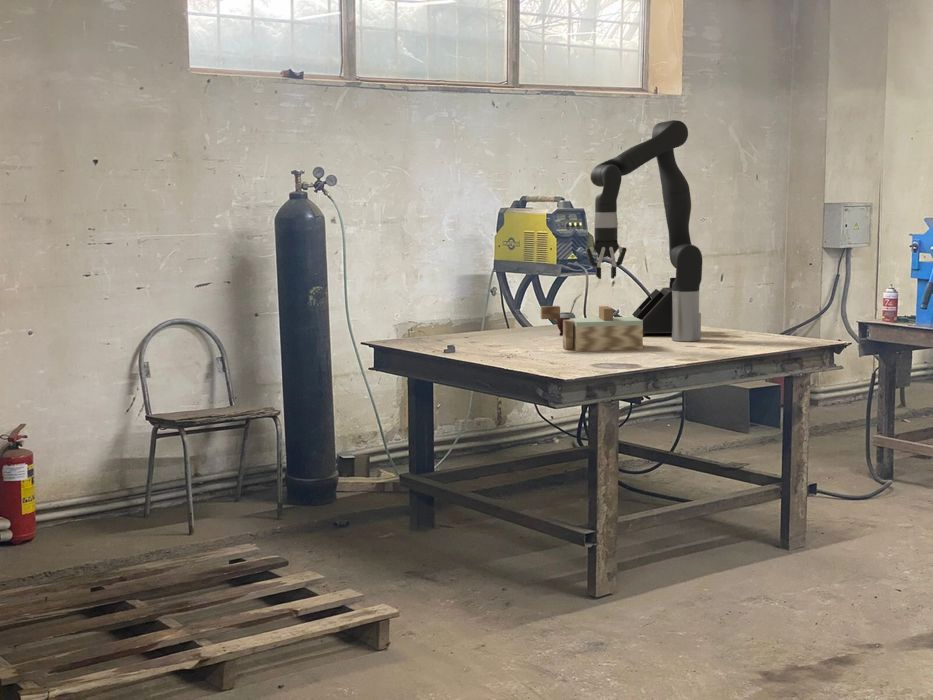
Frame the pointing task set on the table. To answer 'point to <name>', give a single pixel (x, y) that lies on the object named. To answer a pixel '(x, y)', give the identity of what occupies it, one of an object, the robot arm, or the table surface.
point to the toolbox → (602, 337)
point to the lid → (606, 319)
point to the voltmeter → (657, 311)
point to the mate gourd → (565, 317)
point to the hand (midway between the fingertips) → (605, 278)
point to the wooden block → (550, 312)
